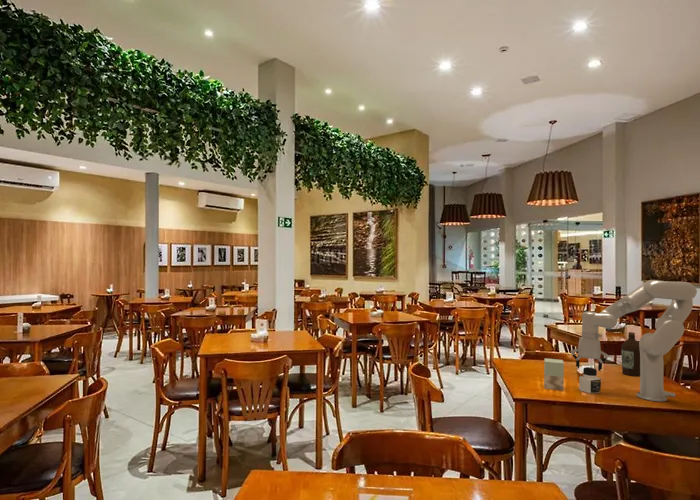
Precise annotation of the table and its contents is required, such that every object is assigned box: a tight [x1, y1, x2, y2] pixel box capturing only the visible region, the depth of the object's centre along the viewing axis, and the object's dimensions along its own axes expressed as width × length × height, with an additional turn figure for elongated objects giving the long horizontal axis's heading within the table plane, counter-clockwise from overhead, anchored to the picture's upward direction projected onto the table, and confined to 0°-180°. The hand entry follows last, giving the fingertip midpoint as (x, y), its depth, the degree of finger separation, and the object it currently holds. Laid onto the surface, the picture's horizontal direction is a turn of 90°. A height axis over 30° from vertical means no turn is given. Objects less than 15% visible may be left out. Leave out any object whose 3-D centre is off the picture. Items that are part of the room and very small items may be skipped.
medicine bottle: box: [578, 366, 602, 395], centre depth 231 cm, size 7×7×12 cm
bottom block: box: [543, 373, 565, 392], centre depth 237 cm, size 9×9×7 cm
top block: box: [543, 358, 565, 378], centre depth 238 cm, size 9×9×7 cm
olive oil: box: [620, 331, 640, 377], centre depth 269 cm, size 11×11×25 cm
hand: (588, 369), depth 231 cm, fingers open, 9 cm apart
